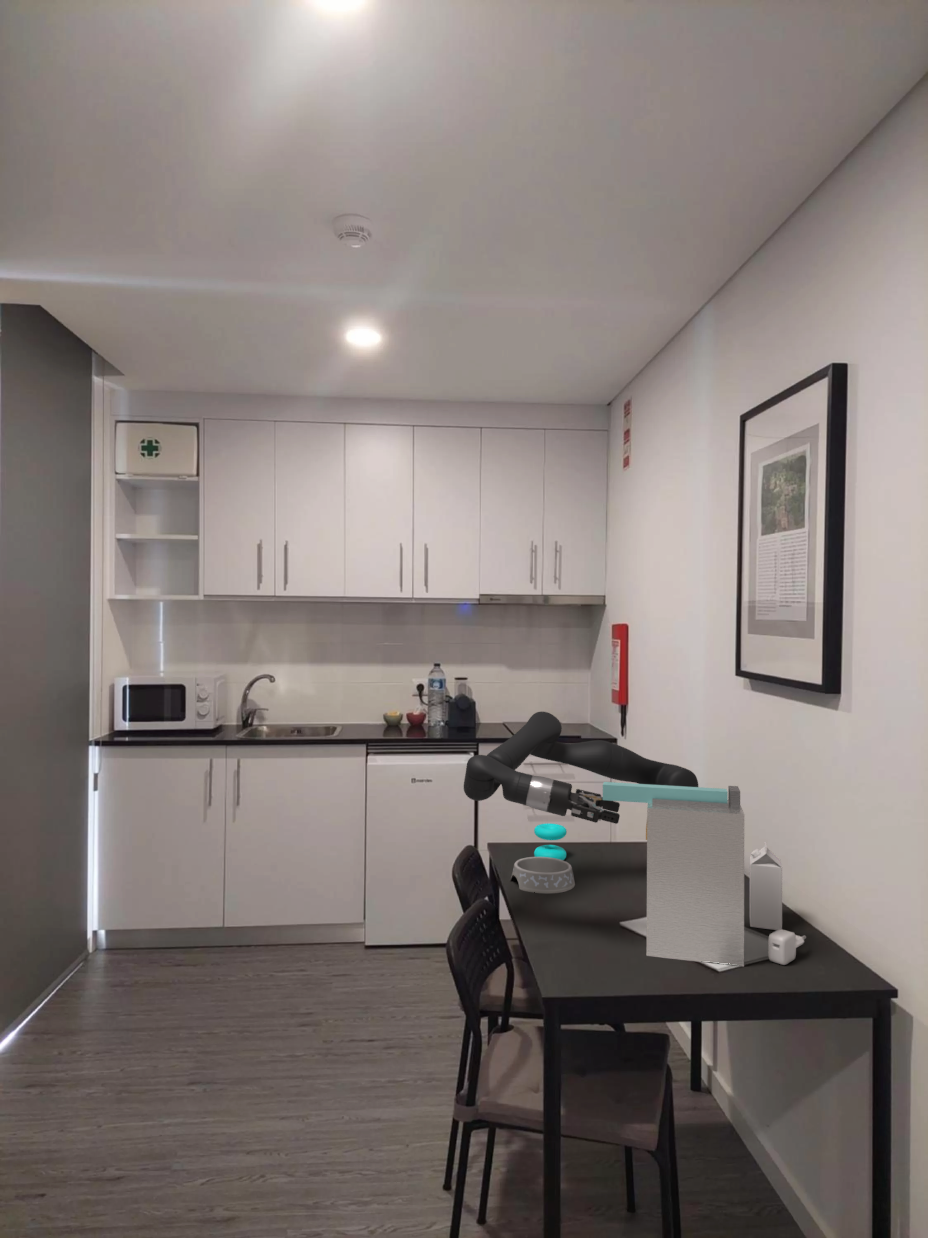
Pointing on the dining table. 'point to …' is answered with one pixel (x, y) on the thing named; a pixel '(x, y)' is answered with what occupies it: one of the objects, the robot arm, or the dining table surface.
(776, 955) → the power adapter
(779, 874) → the milk carton
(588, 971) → the dining table surface
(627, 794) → the teal tapered block
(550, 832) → the donuts
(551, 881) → the dog bowl
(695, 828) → the tall grey box
